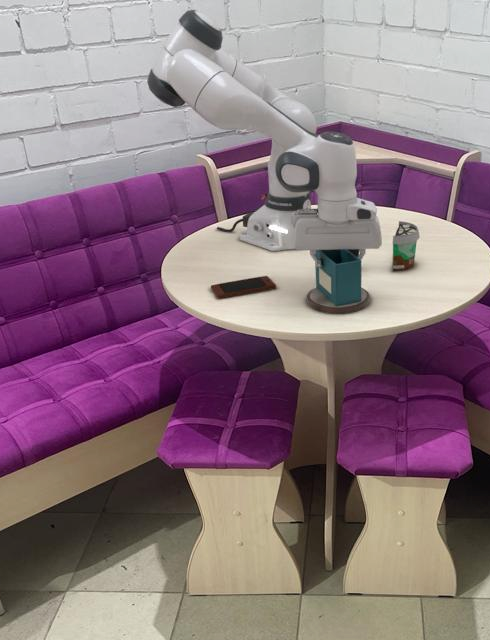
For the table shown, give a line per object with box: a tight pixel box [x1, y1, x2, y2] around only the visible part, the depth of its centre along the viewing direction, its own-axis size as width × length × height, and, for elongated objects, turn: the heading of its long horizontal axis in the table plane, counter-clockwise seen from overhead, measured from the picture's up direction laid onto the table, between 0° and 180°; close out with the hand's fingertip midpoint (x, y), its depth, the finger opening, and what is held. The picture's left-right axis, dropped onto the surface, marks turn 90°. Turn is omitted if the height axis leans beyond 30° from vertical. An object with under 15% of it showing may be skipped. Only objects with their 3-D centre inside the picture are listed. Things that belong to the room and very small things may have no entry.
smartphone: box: [210, 275, 277, 299], centre depth 185 cm, size 7×1×15 cm
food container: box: [392, 220, 421, 272], centre depth 195 cm, size 12×6×10 cm, turn 168°
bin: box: [315, 249, 362, 306], centre depth 176 cm, size 7×12×10 cm, turn 24°
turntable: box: [306, 286, 371, 315], centre depth 179 cm, size 15×15×2 cm
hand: (338, 266), depth 175 cm, fingers closed on bin, 8 cm apart
